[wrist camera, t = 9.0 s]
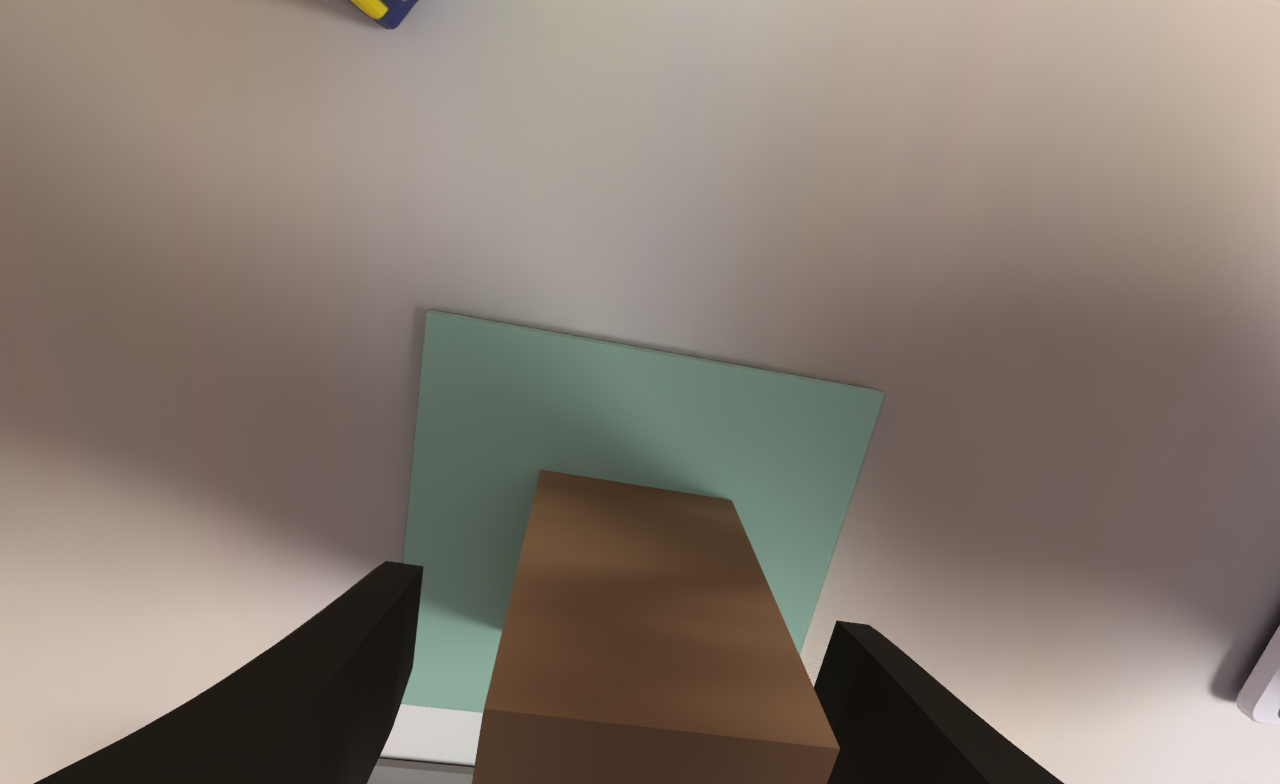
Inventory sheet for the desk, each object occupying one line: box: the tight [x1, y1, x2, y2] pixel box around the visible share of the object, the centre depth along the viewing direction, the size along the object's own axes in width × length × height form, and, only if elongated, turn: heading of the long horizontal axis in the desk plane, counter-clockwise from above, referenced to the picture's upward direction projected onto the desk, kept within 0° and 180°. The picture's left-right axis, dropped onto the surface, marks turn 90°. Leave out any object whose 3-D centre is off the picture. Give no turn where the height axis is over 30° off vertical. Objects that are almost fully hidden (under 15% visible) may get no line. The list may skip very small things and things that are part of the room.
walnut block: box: [472, 469, 840, 784], centre depth 10 cm, size 4×4×6 cm
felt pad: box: [401, 310, 885, 713], centre depth 13 cm, size 9×9×1 cm
